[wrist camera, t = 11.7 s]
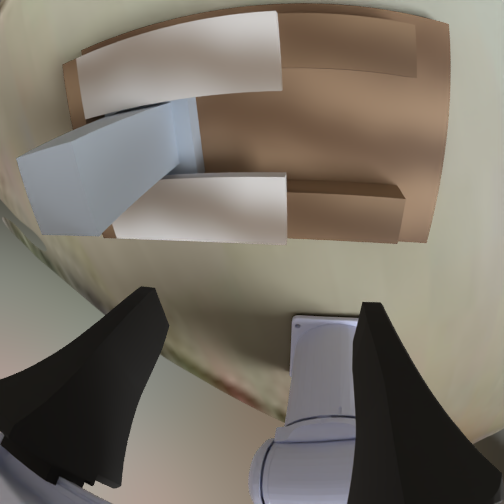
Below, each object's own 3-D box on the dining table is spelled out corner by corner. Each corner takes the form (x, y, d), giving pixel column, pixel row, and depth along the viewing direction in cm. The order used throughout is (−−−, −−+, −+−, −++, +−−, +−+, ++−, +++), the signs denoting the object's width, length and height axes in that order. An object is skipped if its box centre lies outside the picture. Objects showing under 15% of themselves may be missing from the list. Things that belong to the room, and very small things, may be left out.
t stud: (205, 171, 17) (127, 260, 10) (128, 176, 18) (38, 252, 11) (193, 80, 14) (86, 106, 7) (113, 97, 15) (-1, 140, 8)
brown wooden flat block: (422, 234, 18) (438, 267, 15) (126, 223, 22) (101, 249, 19) (441, 25, 10) (469, 19, 7) (90, 49, 14) (54, 53, 11)
